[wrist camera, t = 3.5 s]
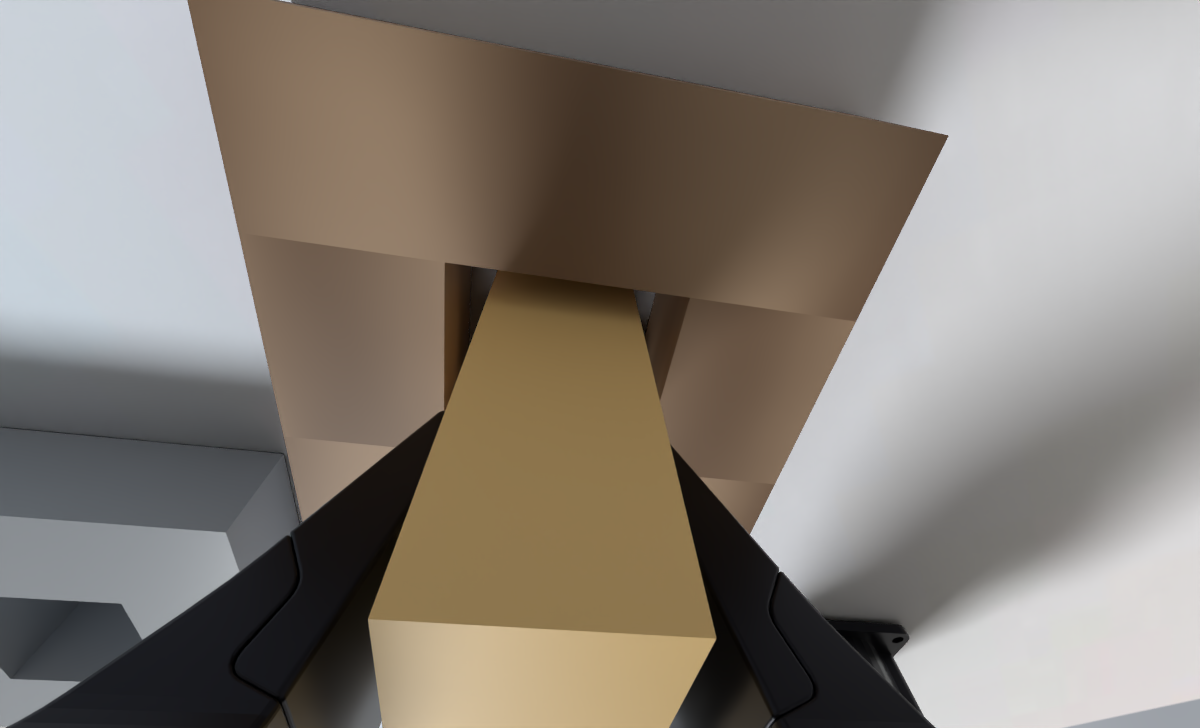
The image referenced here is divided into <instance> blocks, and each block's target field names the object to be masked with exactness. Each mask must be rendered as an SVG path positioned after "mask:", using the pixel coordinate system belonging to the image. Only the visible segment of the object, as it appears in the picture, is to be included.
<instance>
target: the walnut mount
mask: <svg viewBox="0 0 1200 728" xmlns="http://www.w3.org/2000/svg"><path fill="white" fill-rule="evenodd" d="M188 5H189V9H190V14H191V18H192V23H193V28H194V32H195V37H196V41H197V46H198V50H199V55H200V59H201V64H202V68H203V73H204V77H205V82H206V87H207V91H208V96H209V100H210V105H211V109H212V114H213V118H214V123H215V127H216V132H217V136H218V141H219V145H220V150H221V155H222V159H223V164H224V168H225V173H226V177H227V182H228V186H229V191H230V195H231V200H232V204H233V209H234V213H235V218H236V223H237V227H238V232H239V236H240V241H241V245H242V250H243V254H244V259H245V263H246V268H247V272H248V277H249V282H250V286H251V291H252V295H253V300H254V304H255V309H256V313H257V318H258V322H259V327H260V331H261V336H262V340H263V345H264V350H265V354H266V359H267V363H268V368H269V372H270V377H271V381H272V386H273V390H274V395H275V399H276V404H277V408H278V413H279V418H280V422H281V427H282V431H283V436H284V440H285V445H286V449H287V454H288V458H289V463H290V467H291V472H292V477H293V481H294V486H295V490H296V495H297V499H298V504H299V508H300V513H301V517H302V522H303V521H304V520H306V519H307V518H308V517H309V516H310V515H312V514H313V513H314V512H315V511H317V510H318V509H319V508H320V507H322V506H323V505H324V504H325V503H327V502H328V501H329V500H330V499H332V498H333V497H334V496H335V495H337V494H338V493H339V492H340V491H342V490H343V489H344V488H345V487H346V486H348V485H349V484H350V483H351V482H353V481H354V480H355V479H356V478H358V477H359V476H360V475H361V474H363V473H364V472H365V471H366V470H368V469H369V468H370V467H371V466H373V465H374V464H375V463H376V462H378V461H379V460H380V459H381V458H382V457H384V456H385V455H386V454H387V453H389V452H390V451H391V450H392V449H394V448H395V447H396V446H397V445H399V444H400V443H401V442H402V441H404V440H405V439H406V438H407V437H409V436H410V435H411V434H412V433H414V432H415V431H416V430H417V429H418V428H420V427H421V426H422V425H423V424H425V423H426V422H427V421H428V420H430V419H431V418H432V417H433V416H435V415H436V414H437V413H438V412H440V411H445V410H446V408H447V405H448V402H449V400H450V397H451V394H452V391H453V389H454V386H455V383H456V381H457V378H458V375H459V373H460V370H461V367H462V365H463V362H464V359H465V356H466V354H467V351H468V348H469V327H470V297H471V268H472V266H474V267H481V268H488V269H495V270H501V271H508V272H515V273H522V274H529V275H536V276H543V277H550V278H557V279H564V280H571V281H578V282H585V283H592V284H599V285H606V286H613V287H620V288H627V289H633V290H640V291H647V292H654V293H656V294H655V298H654V302H653V306H652V310H651V314H650V318H649V322H648V326H647V330H646V334H645V341H646V345H647V349H648V354H649V358H650V362H651V366H652V370H653V374H654V379H655V383H656V387H657V391H658V395H659V400H660V404H661V408H662V412H663V416H664V421H665V425H666V429H667V433H668V437H669V441H670V444H671V445H672V446H673V448H674V449H675V450H676V451H677V452H678V453H679V454H680V456H681V457H682V458H683V459H684V460H685V461H686V462H687V464H688V465H689V466H690V467H691V468H692V469H693V470H694V472H695V473H696V474H697V475H698V476H699V477H700V478H701V480H702V481H703V482H704V483H705V484H706V485H707V486H708V488H709V489H710V490H711V491H712V492H713V493H714V494H715V496H716V497H717V498H718V499H719V500H720V501H721V502H722V504H723V505H724V506H725V507H726V508H727V509H728V510H729V512H730V513H731V514H732V515H733V516H734V517H735V518H736V520H737V521H738V522H739V523H740V524H741V525H742V526H743V528H744V529H745V530H746V531H747V532H748V533H749V534H750V533H751V531H752V529H753V527H754V525H755V523H756V521H757V519H758V517H759V515H760V513H761V511H762V509H763V507H764V505H765V503H766V501H767V499H768V497H769V495H770V493H771V491H772V489H773V487H774V485H775V483H776V481H777V479H778V477H779V475H780V473H781V471H782V469H783V467H784V465H785V463H786V461H787V459H788V457H789V455H790V453H791V451H792V449H793V447H794V445H795V443H796V441H797V439H798V437H799V434H800V432H801V430H802V428H803V426H804V424H805V422H806V420H807V418H808V416H809V414H810V412H811V410H812V408H813V406H814V404H815V402H816V400H817V398H818V396H819V394H820V392H821V390H822V388H823V386H824V384H825V382H826V380H827V378H828V376H829V374H830V372H831V370H832V368H833V366H834V364H835V362H836V360H837V358H838V356H839V354H840V352H841V350H842V348H843V346H844V344H845V342H846V340H847V338H848V336H849V334H850V332H851V330H852V328H853V326H854V324H855V322H856V320H857V318H858V316H859V314H860V312H861V310H862V308H863V306H864V304H865V302H866V300H867V298H868V296H869V294H870V292H871V290H872V288H873V286H874V284H875V282H876V280H877V278H878V276H879V274H880V272H881V270H882V268H883V266H884V264H885V262H886V260H887V258H888V256H889V254H890V252H891V250H892V248H893V246H894V244H895V242H896V240H897V238H898V236H899V234H900V232H901V230H902V228H903V226H904V224H905V222H906V220H907V218H908V216H909V214H910V212H911V210H912V208H913V206H914V204H915V202H916V200H917V198H918V196H919V194H920V192H921V190H922V188H923V186H924V184H925V182H926V180H927V178H928V176H929V174H930V172H931V170H932V168H933V166H934V164H935V162H936V160H937V158H938V156H939V154H940V152H941V150H942V148H943V146H944V144H945V142H946V140H947V138H948V135H944V134H939V133H934V132H930V131H925V130H921V129H916V128H911V127H907V126H902V125H898V124H893V123H888V122H884V121H879V120H874V119H870V118H865V117H861V116H856V115H851V114H846V113H841V112H836V111H831V110H825V109H820V108H815V107H810V106H805V105H800V104H795V103H790V102H785V101H780V100H775V99H770V98H765V97H760V96H755V95H750V94H745V93H740V92H735V91H730V90H725V89H720V88H715V87H710V86H705V85H700V84H695V83H690V82H685V81H680V80H675V79H670V78H665V77H660V76H655V75H650V74H645V73H640V72H635V71H630V70H625V69H620V68H615V67H610V66H605V65H600V64H595V63H590V62H585V61H580V60H575V59H570V58H565V57H560V56H555V55H550V54H545V53H540V52H535V51H530V50H525V49H520V48H515V47H510V46H505V45H500V44H495V43H490V42H485V41H480V40H475V39H470V38H465V37H460V36H455V35H450V34H445V33H440V32H435V31H430V30H425V29H420V28H415V27H410V26H405V25H400V24H395V23H390V22H385V21H380V20H375V19H370V18H365V17H360V16H355V15H350V14H345V13H340V12H335V11H330V10H325V9H320V8H315V7H310V6H305V5H300V4H295V3H290V2H285V1H279V0H188Z"/></svg>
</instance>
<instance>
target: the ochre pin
mask: <svg viewBox="0 0 1200 728" xmlns="http://www.w3.org/2000/svg"><path fill="white" fill-rule="evenodd" d="M368 624H369V631H370V638H371V646H372V653H373V660H374V667H375V675H376V682H377V689H378V697H379V704H380V711H381V718H382V726H383V728H669V727H670V725H671V723H672V721H673V719H674V717H675V715H676V714H677V712H678V710H679V708H680V706H681V704H682V702H683V701H684V699H685V697H686V695H687V693H688V691H689V689H690V687H691V686H692V684H693V682H694V680H695V678H696V676H697V674H698V672H699V671H700V669H701V667H702V665H703V663H704V661H705V659H706V658H707V656H708V654H709V652H710V650H711V648H712V646H713V644H714V643H715V641H716V639H717V638H716V634H715V630H714V626H713V622H712V617H711V613H710V609H709V605H708V601H707V596H706V592H705V588H704V584H703V580H702V575H701V571H700V567H699V563H698V559H697V555H696V550H695V546H694V542H693V538H692V534H691V529H690V525H689V521H688V517H687V513H686V508H685V504H684V500H683V496H682V492H681V488H680V483H679V479H678V475H677V471H676V467H675V462H674V458H673V454H672V450H671V446H670V441H669V437H668V433H667V429H666V425H665V421H664V416H663V412H662V408H661V404H660V400H659V395H658V391H657V387H656V383H655V379H654V374H653V370H652V366H651V362H650V358H649V354H648V349H647V345H646V341H645V337H644V333H643V328H642V324H641V320H640V316H639V312H638V307H637V303H636V299H635V295H634V291H633V289H627V288H620V287H613V286H606V285H599V284H592V283H585V282H578V281H571V280H564V279H557V278H550V277H543V276H536V275H529V274H522V273H515V272H508V271H501V270H497V273H496V276H495V278H494V281H493V284H492V286H491V289H490V292H489V295H488V297H487V300H486V303H485V305H484V308H483V311H482V313H481V316H480V319H479V321H478V324H477V327H476V330H475V332H474V335H473V338H472V340H471V343H470V346H469V348H468V351H467V354H466V356H465V359H464V362H463V365H462V367H461V370H460V373H459V375H458V378H457V381H456V383H455V386H454V389H453V391H452V394H451V397H450V400H449V402H448V405H447V408H446V410H445V413H444V416H443V418H442V421H441V424H440V426H439V429H438V432H437V435H436V437H435V440H434V443H433V445H432V448H431V451H430V453H429V456H428V459H427V461H426V464H425V467H424V469H423V472H422V475H421V478H420V480H419V483H418V486H417V488H416V491H415V494H414V496H413V499H412V502H411V504H410V507H409V510H408V513H407V515H406V518H405V521H404V523H403V526H402V529H401V531H400V534H399V537H398V539H397V542H396V545H395V548H394V550H393V553H392V556H391V558H390V561H389V564H388V566H387V569H386V572H385V574H384V577H383V580H382V583H381V585H380V588H379V591H378V593H377V596H376V599H375V601H374V604H373V607H372V609H371V612H370V615H369V618H368Z"/></svg>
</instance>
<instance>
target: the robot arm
mask: <svg viewBox="0 0 1200 728" xmlns="http://www.w3.org/2000/svg"><path fill="white" fill-rule="evenodd" d="M444 413H445V411H440V412H438V413H437V414H436V415H435V416H433V417H432V418H431V419H430V420H428V421H427V422H426V423H425V424H423V425H422V426H421V427H420V428H418V429H417V430H416V431H415V432H414V433H412V434H411V435H410V436H409V437H407V438H406V439H405V440H404V441H402V442H401V443H400V444H399V445H397V446H396V447H395V448H394V449H392V450H391V451H390V452H389V453H387V454H386V455H385V456H384V457H382V458H381V459H380V460H379V461H378V462H376V463H375V464H374V465H373V466H371V467H370V468H369V469H368V470H366V471H365V472H364V473H363V474H361V475H360V476H359V477H358V478H356V479H355V480H354V481H353V482H351V483H350V484H349V485H348V486H346V487H345V488H344V489H343V490H342V491H340V492H339V493H338V494H337V495H335V496H334V497H333V498H332V499H330V500H329V501H328V502H327V503H325V504H324V505H323V506H322V507H320V508H319V509H318V510H317V511H315V512H314V513H313V514H312V515H310V516H309V517H308V518H307V519H306V520H304V521H303V522H302V523H301V524H299V525H298V526H297V527H296V528H294V529H293V530H292V531H291V532H290V536H289V535H286V536H284V537H283V538H282V539H280V540H279V541H278V542H277V543H275V544H274V545H273V546H272V547H270V548H269V549H268V550H267V551H265V552H264V553H263V554H262V555H260V556H259V557H258V558H256V559H255V560H254V561H253V562H251V563H250V564H249V565H247V566H246V567H245V568H243V569H242V570H241V571H240V572H238V573H237V574H236V575H234V576H233V577H232V578H230V579H229V580H228V581H226V582H225V583H224V584H222V585H221V586H219V587H218V588H216V589H215V590H214V591H212V592H211V593H209V594H208V595H207V596H205V597H204V598H202V599H201V600H200V601H198V602H197V603H195V604H194V605H192V606H191V607H190V608H188V609H187V610H185V611H184V612H183V613H181V614H180V615H178V616H177V617H175V618H174V619H172V620H171V621H169V622H168V623H166V624H165V625H163V626H162V627H160V628H159V629H158V630H156V631H155V632H153V633H152V634H150V635H149V636H147V637H146V638H144V639H143V640H141V641H140V642H138V643H137V644H136V645H134V646H133V647H131V648H130V649H128V650H127V651H125V652H124V653H122V654H121V655H119V656H118V657H116V658H115V659H113V660H112V661H111V662H109V663H108V664H106V665H105V666H103V667H102V668H100V669H99V670H97V671H96V672H94V673H93V674H91V675H90V676H89V677H87V678H86V679H84V680H83V681H81V682H80V683H78V684H77V685H75V686H74V687H72V688H71V689H69V690H68V691H66V692H65V693H63V694H62V695H60V696H59V697H57V698H56V699H54V700H53V701H51V702H49V703H48V704H46V705H45V706H43V707H42V708H40V709H38V710H36V711H35V712H33V713H31V714H30V715H28V716H26V717H24V718H23V719H21V720H19V721H17V722H16V723H14V724H12V725H10V726H8V727H6V728H379V726H380V723H381V721H382V718H381V711H380V704H379V697H378V689H377V682H376V675H375V667H374V660H373V653H372V646H371V638H370V631H369V624H368V618H369V615H370V612H371V609H372V607H373V604H374V601H375V599H376V596H377V593H378V591H379V588H380V585H381V583H382V580H383V577H384V574H385V572H386V569H387V566H388V564H389V561H390V558H391V556H392V553H393V550H394V548H395V545H396V542H397V539H398V537H399V534H400V531H401V529H402V526H403V523H404V521H405V518H406V515H407V513H408V510H409V507H410V504H411V502H412V499H413V496H414V494H415V491H416V488H417V486H418V483H419V480H420V478H421V475H422V472H423V469H424V467H425V464H426V461H427V459H428V456H429V453H430V451H431V448H432V445H433V443H434V440H435V437H436V435H437V432H438V429H439V426H440V424H441V421H442V418H443V416H444ZM670 446H671V450H672V454H673V458H674V462H675V467H676V471H677V475H678V479H679V483H680V488H681V492H682V496H683V500H684V504H685V508H686V513H687V517H688V521H689V525H690V529H691V534H692V538H693V542H694V546H695V550H696V555H697V559H698V563H699V567H700V571H701V575H702V580H703V584H704V588H705V592H706V596H707V601H708V605H709V609H710V613H711V617H712V622H713V626H714V630H715V634H716V638H717V639H716V641H715V643H714V644H713V646H712V648H711V650H710V652H709V654H708V656H707V658H706V659H705V661H704V663H703V665H702V667H701V669H700V671H699V672H698V674H697V676H696V678H695V680H694V682H693V684H692V686H691V687H690V689H689V691H688V693H687V695H686V697H685V699H684V701H683V702H682V704H681V706H680V708H679V710H678V712H677V714H676V715H675V717H674V719H673V721H672V723H671V725H670V727H669V728H935V727H934V726H933V725H932V724H931V723H930V722H929V721H928V720H927V719H926V718H925V717H924V715H923V714H922V712H921V710H920V708H919V706H918V704H917V702H916V700H915V698H914V696H913V694H912V693H911V691H910V689H909V687H908V685H907V683H906V681H905V679H904V677H903V675H902V673H901V672H900V670H899V668H898V666H897V664H896V662H895V660H894V658H893V657H894V655H895V654H896V653H897V652H898V651H899V650H900V649H901V648H902V647H903V646H904V645H905V643H906V642H907V641H908V640H909V635H908V634H907V632H906V630H905V628H904V627H903V626H901V625H892V624H876V623H860V622H844V621H828V620H826V619H825V618H824V617H823V616H822V615H821V614H820V613H819V612H818V611H817V610H816V609H815V608H814V606H813V605H812V604H811V603H810V602H809V601H808V600H807V599H806V598H805V597H804V596H803V594H802V593H801V592H800V591H799V590H798V589H797V588H796V587H795V586H794V584H793V583H792V582H791V581H790V580H789V579H788V578H787V576H786V575H785V574H784V573H783V572H779V568H778V566H777V565H776V564H775V563H774V562H773V561H772V560H771V558H770V557H769V556H768V555H767V554H766V553H765V552H764V550H763V549H762V548H761V547H760V546H759V545H758V544H757V542H756V541H755V540H754V539H753V538H752V537H751V536H750V534H749V533H748V532H747V531H746V530H745V529H744V528H743V526H742V525H741V524H740V523H739V522H738V521H737V520H736V518H735V517H734V516H733V515H732V514H731V513H730V512H729V510H728V509H727V508H726V507H725V506H724V505H723V504H722V502H721V501H720V500H719V499H718V498H717V497H716V496H715V494H714V493H713V492H712V491H711V490H710V489H709V488H708V486H707V485H706V484H705V483H704V482H703V481H702V480H701V478H700V477H699V476H698V475H697V474H696V473H695V472H694V470H693V469H692V468H691V467H690V466H689V465H688V464H687V462H686V461H685V460H684V459H683V458H682V457H681V456H680V454H679V453H678V452H677V451H676V450H675V449H674V448H673V446H672V445H671V444H670Z"/></svg>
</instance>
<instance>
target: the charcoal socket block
mask: <svg viewBox="0 0 1200 728" xmlns="http://www.w3.org/2000/svg"><path fill="white" fill-rule="evenodd" d="M298 525H299V520H298V516H297V511H296V507H295V503H294V498H293V494H292V489H291V485H290V480H289V476H288V472H287V467H286V463H285V458H284V454H278V453H267V452H256V451H245V450H235V449H224V448H213V447H203V446H192V445H181V444H171V443H160V442H149V441H138V440H128V439H117V438H106V437H96V436H85V435H74V434H64V433H53V432H42V431H31V430H21V429H10V428H0V726H4V727H8V726H10V725H12V724H14V723H16V722H17V721H19V720H21V719H23V718H24V717H26V716H28V715H30V714H31V713H33V712H35V711H36V710H38V709H40V708H42V707H43V706H45V705H46V704H48V703H49V702H51V701H53V700H54V699H56V698H57V697H59V696H60V695H62V694H63V693H65V692H66V691H68V690H69V689H71V688H72V687H74V686H75V685H77V684H78V683H80V682H81V681H83V680H84V679H86V678H87V677H89V676H90V675H91V674H93V673H94V672H96V671H97V670H99V669H100V668H102V667H103V666H105V665H106V664H108V663H109V662H111V661H112V660H113V659H115V658H116V657H118V656H119V655H121V654H122V653H124V652H125V651H127V650H128V649H130V648H131V647H133V646H134V645H136V644H137V643H138V642H140V641H141V640H143V639H144V638H146V637H147V636H149V635H150V634H152V633H153V632H155V631H156V630H158V629H159V628H160V627H162V626H163V625H165V624H166V623H168V622H169V621H171V620H172V619H174V618H175V617H177V616H178V615H180V614H181V613H183V612H184V611H185V610H187V609H188V608H190V607H191V606H192V605H194V604H195V603H197V602H198V601H200V600H201V599H202V598H204V597H205V596H207V595H208V594H209V593H211V592H212V591H214V590H215V589H216V588H218V587H219V586H221V585H222V584H224V583H225V582H226V581H228V580H229V579H230V578H232V577H233V576H234V575H236V574H237V573H238V572H240V571H241V570H242V569H243V568H245V567H246V566H247V565H249V564H250V563H251V562H253V561H254V560H255V559H256V558H258V557H259V556H260V555H262V554H263V553H264V552H265V551H267V550H268V549H269V548H270V547H272V546H273V545H274V544H275V543H277V542H278V541H279V540H280V539H282V538H283V537H284V536H286V535H289V536H290V532H291V531H292V530H293V529H294V528H296V527H297V526H298Z"/></svg>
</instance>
